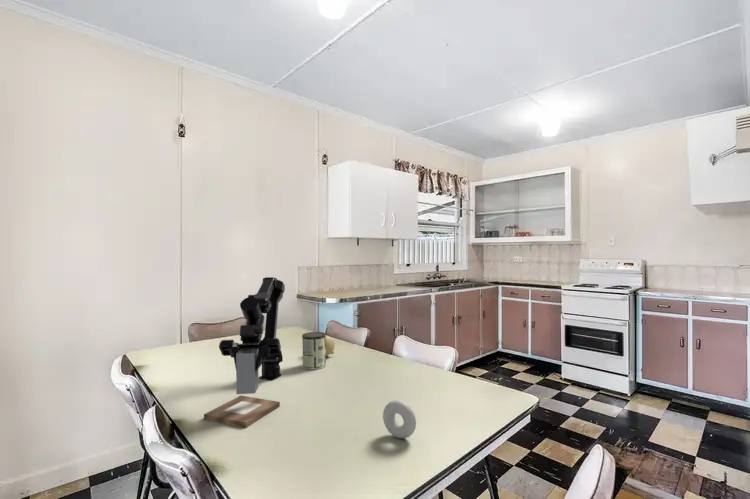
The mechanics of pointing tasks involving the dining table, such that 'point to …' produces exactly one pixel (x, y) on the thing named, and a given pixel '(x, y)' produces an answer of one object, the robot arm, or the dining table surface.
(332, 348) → the toy pig
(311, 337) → the coffee can
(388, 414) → the donut
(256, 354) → the gray block
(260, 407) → the walnut board
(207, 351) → the dining table surface
